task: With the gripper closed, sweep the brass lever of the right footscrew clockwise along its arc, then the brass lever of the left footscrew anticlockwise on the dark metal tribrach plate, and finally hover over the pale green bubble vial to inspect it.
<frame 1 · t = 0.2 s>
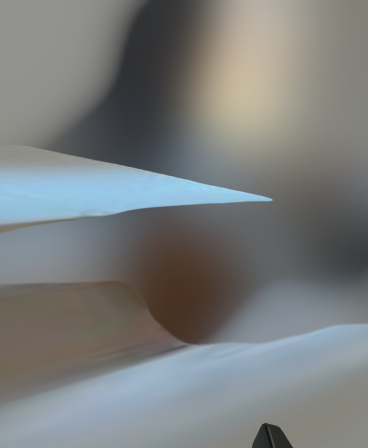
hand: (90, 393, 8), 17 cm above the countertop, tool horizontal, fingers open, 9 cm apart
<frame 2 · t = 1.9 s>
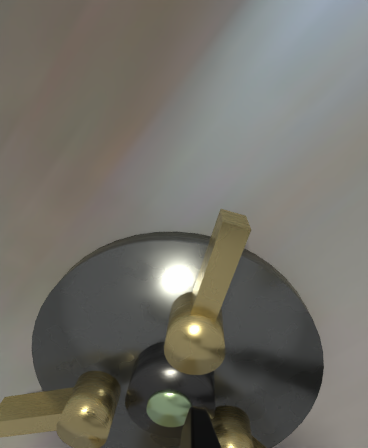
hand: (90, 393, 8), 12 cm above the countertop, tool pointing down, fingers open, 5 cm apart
tribrach plate: (175, 357, 23), on the countertop
knob a: (53, 413, 21), point 3 cm above the countertop, hinge at 0.0°
knob c: (209, 292, 17), point 3 cm above the countertop, hinge at 0.0°
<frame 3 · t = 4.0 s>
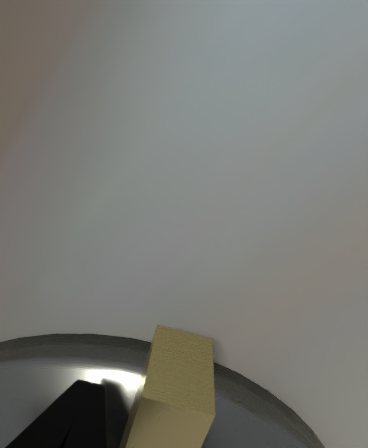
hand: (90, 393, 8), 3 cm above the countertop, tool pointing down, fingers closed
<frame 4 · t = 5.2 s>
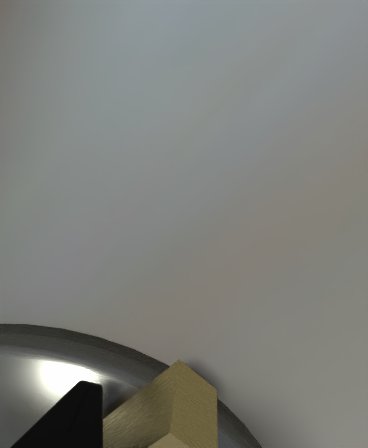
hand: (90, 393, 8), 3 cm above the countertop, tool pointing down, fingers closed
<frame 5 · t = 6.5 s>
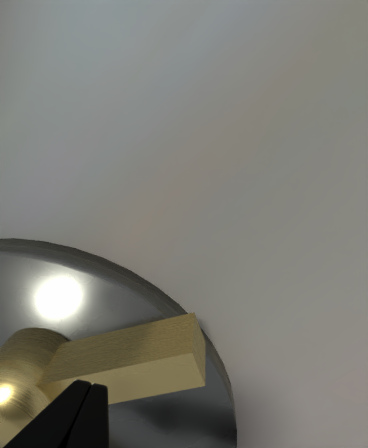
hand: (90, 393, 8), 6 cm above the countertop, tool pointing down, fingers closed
tribrach plate: (47, 408, 17), on the countertop
knob c: (84, 377, 11), point 3 cm above the countertop, hinge at -56.1°
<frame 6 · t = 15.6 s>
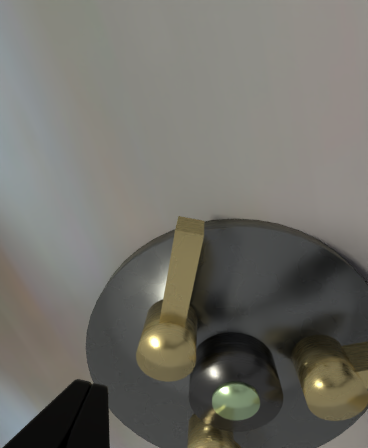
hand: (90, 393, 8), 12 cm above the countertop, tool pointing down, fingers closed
tribrach plate: (230, 349, 22), on the countertop
knob c: (176, 299, 17), point 3 cm above the countertop, hinge at -56.1°
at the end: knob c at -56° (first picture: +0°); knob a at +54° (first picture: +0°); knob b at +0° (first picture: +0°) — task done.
